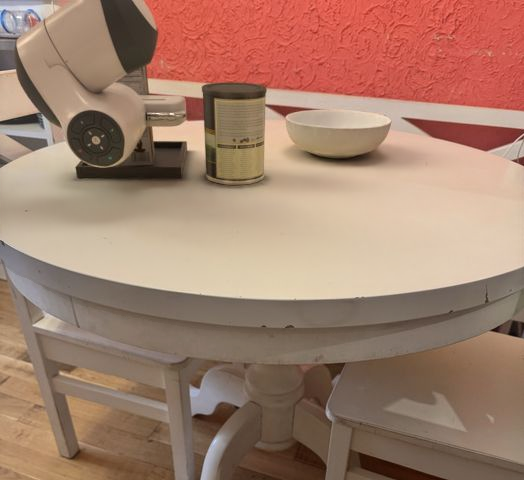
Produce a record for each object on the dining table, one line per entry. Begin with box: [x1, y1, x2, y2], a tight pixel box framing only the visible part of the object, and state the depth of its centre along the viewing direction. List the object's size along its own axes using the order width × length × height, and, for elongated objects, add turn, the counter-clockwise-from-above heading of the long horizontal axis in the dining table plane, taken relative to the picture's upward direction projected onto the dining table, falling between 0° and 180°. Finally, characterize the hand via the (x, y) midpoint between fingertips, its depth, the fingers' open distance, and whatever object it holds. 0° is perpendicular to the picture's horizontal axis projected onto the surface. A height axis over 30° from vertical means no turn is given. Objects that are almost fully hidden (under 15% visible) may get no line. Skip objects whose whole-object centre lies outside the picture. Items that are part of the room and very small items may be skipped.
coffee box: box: [115, 65, 155, 166], centre depth 88 cm, size 9×6×16 cm
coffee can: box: [201, 81, 268, 186], centre depth 83 cm, size 10×10×14 cm
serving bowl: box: [285, 109, 392, 159], centre depth 101 cm, size 21×21×7 cm
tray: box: [75, 140, 188, 179], centre depth 93 cm, size 18×20×2 cm
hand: (129, 101), depth 87 cm, fingers open, 8 cm apart
